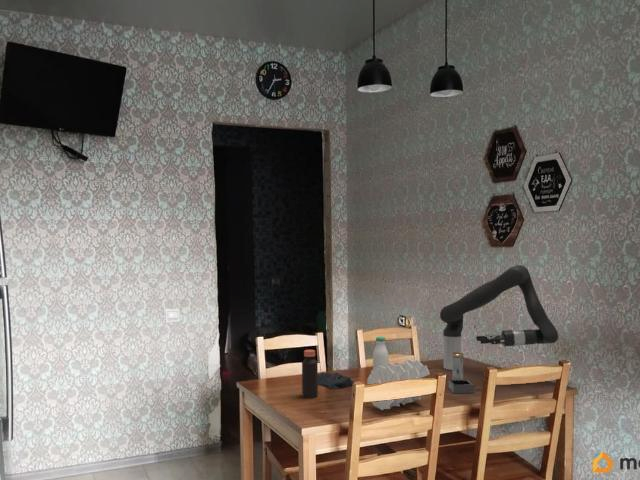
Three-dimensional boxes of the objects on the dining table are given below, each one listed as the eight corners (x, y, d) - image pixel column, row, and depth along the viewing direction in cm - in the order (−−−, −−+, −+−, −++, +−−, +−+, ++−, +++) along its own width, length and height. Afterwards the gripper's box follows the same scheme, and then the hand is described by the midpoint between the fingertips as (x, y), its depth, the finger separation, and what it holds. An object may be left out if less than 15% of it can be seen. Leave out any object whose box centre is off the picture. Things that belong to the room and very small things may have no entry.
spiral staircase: (369, 418, 234) (409, 403, 250) (398, 408, 222) (438, 393, 238) (353, 375, 239) (393, 362, 256) (381, 363, 227) (421, 351, 243)
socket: (448, 388, 264) (448, 380, 264) (468, 387, 265) (468, 379, 265) (453, 393, 255) (453, 385, 255) (473, 393, 256) (473, 384, 256)
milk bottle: (388, 380, 280) (387, 338, 280) (372, 379, 281) (371, 338, 281) (389, 376, 287) (389, 336, 287) (373, 375, 289) (373, 335, 289)
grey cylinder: (450, 381, 276) (450, 352, 276) (462, 381, 276) (461, 352, 276) (453, 384, 270) (453, 354, 270) (465, 384, 270) (464, 354, 270)
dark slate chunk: (331, 376, 289) (331, 367, 289) (359, 386, 271) (359, 375, 271) (305, 381, 280) (305, 371, 280) (332, 391, 262) (332, 380, 262)
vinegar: (312, 399, 248) (311, 352, 248) (299, 397, 252) (298, 351, 251) (320, 395, 254) (320, 350, 254) (307, 393, 257) (307, 348, 257)
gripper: (508, 328, 279) (474, 330, 280) (516, 331, 265) (481, 334, 266) (509, 343, 279) (475, 345, 280) (518, 348, 265) (482, 350, 266)
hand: (478, 340), depth 273 cm, fingers open, 8 cm apart
